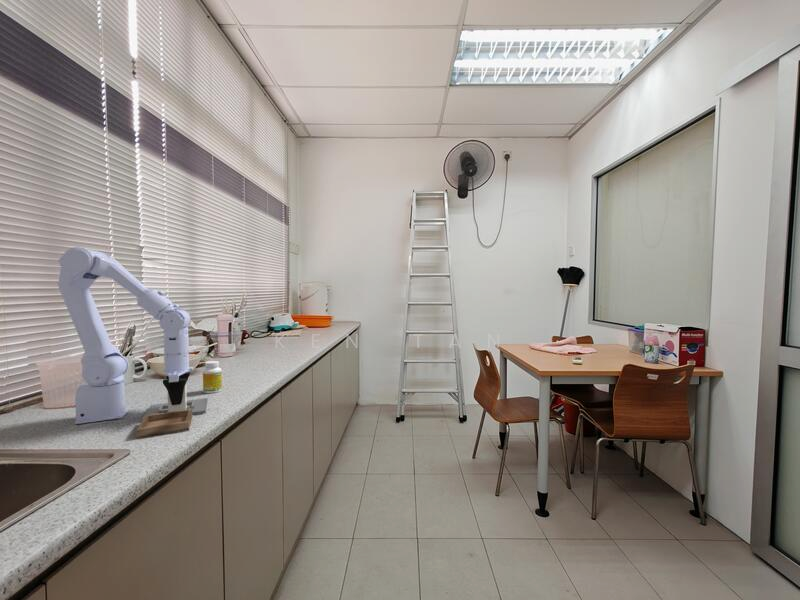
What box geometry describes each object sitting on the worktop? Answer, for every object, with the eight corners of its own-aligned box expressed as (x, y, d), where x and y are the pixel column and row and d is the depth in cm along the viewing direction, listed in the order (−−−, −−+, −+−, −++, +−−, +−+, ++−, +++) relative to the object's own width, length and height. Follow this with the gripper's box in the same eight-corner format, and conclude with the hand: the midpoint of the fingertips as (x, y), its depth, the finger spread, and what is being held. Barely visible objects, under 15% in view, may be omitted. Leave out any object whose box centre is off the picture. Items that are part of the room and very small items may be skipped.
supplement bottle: (216, 393, 110) (215, 363, 110) (199, 393, 110) (199, 363, 110) (224, 388, 116) (224, 360, 115) (209, 388, 116) (208, 360, 115)
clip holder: (141, 422, 86) (141, 416, 86) (151, 407, 97) (150, 402, 97) (205, 413, 92) (205, 407, 92) (207, 400, 103) (207, 395, 103)
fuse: (168, 414, 92) (167, 384, 92) (170, 409, 96) (169, 381, 95) (185, 411, 94) (184, 382, 94) (186, 407, 97) (186, 379, 97)
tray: (136, 438, 77) (136, 429, 77) (145, 423, 86) (145, 415, 86) (188, 430, 81) (188, 421, 81) (192, 416, 90) (192, 408, 90)
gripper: (191, 356, 90) (192, 407, 90) (195, 348, 102) (196, 392, 103) (158, 358, 86) (159, 411, 87) (167, 349, 99) (168, 396, 100)
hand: (177, 401), depth 95 cm, fingers closed on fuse, 4 cm apart
